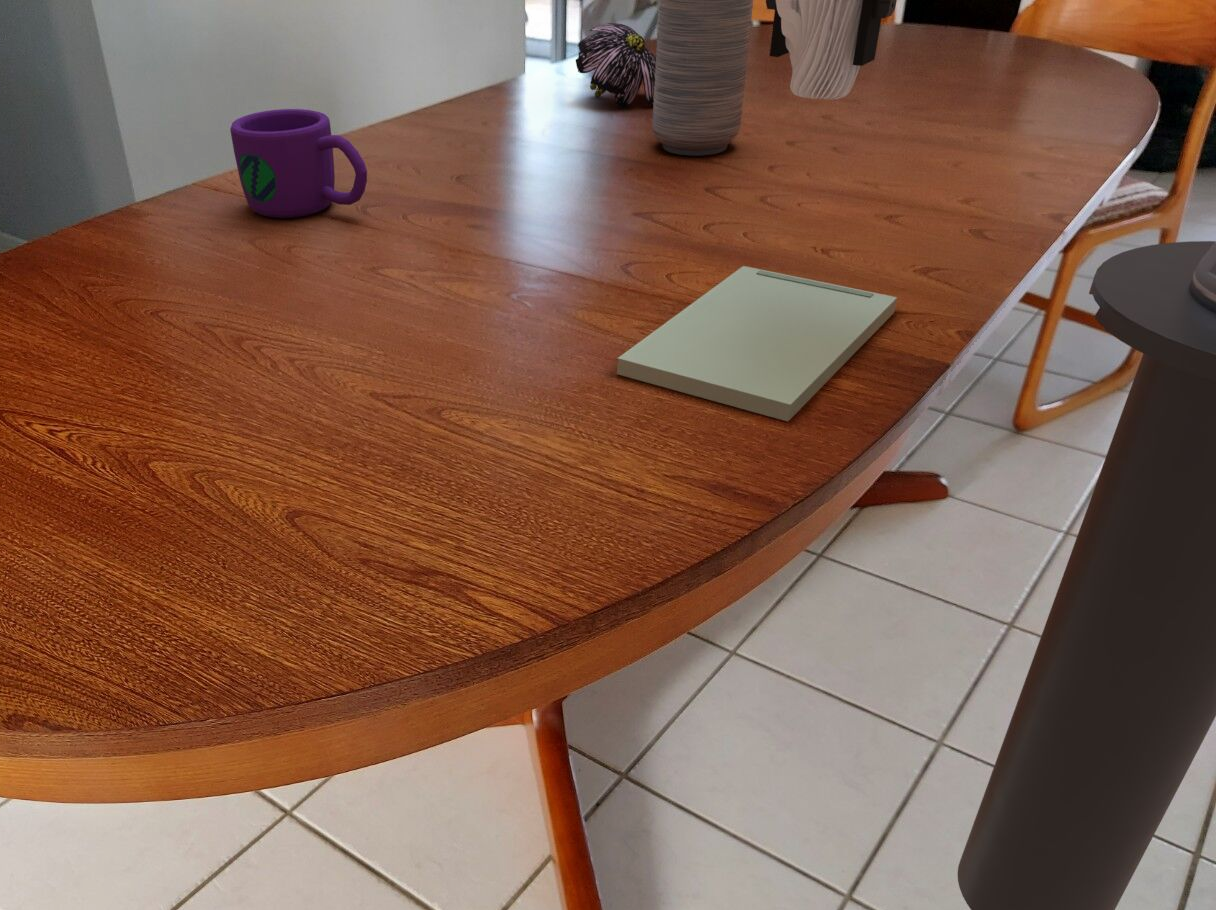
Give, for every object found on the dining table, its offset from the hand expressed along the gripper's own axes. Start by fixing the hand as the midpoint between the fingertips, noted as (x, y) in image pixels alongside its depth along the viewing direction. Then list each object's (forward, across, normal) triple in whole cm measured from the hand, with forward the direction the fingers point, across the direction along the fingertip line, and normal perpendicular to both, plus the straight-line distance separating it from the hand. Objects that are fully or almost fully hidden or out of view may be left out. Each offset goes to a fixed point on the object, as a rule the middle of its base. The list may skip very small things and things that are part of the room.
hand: (821, 57), depth 85 cm
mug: (+21, +58, +5) cm, 62 cm away
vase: (+21, +32, -42) cm, 57 cm away
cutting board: (+21, -2, +10) cm, 23 cm away
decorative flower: (+21, +55, -59) cm, 83 cm away
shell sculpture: (+3, 0, 0) cm, 3 cm away
